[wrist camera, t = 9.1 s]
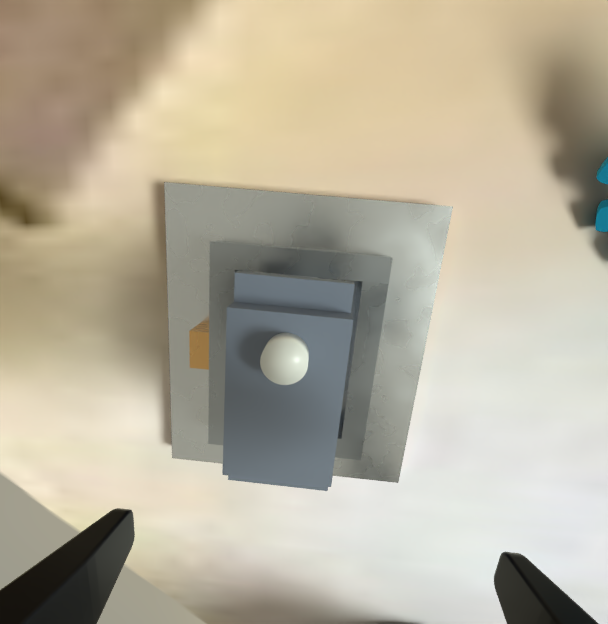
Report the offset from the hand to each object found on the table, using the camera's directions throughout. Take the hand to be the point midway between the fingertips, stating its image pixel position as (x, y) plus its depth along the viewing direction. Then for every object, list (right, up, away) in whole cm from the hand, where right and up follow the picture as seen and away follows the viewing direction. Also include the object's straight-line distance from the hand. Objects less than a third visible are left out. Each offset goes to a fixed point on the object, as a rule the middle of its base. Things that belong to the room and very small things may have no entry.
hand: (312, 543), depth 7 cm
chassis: (-1, +4, +10) cm, 11 cm away
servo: (-1, +4, +9) cm, 10 cm away
